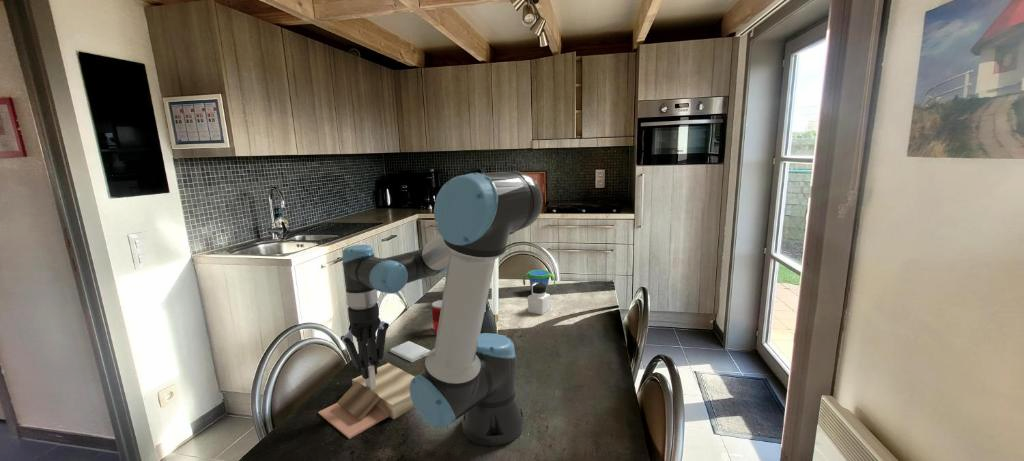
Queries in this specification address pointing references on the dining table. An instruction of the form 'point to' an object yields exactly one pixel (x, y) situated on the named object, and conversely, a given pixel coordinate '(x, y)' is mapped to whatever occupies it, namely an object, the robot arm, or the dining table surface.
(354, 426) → the mat
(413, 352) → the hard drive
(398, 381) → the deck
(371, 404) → the wooden block
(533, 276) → the snack cup
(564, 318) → the dining table surface
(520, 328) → the dining table surface
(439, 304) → the canned food
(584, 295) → the dining table surface
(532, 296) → the medicine bottle
